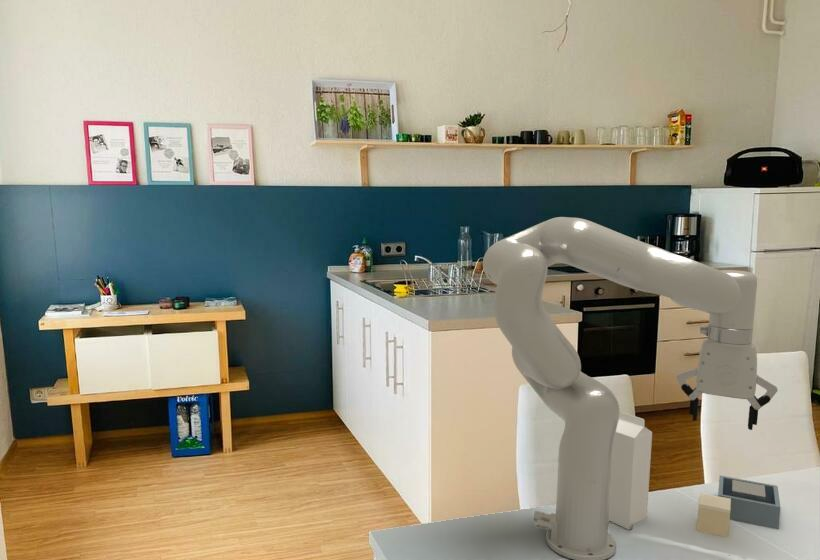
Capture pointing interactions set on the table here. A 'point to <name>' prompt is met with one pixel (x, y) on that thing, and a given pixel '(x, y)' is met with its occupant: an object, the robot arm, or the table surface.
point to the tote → (752, 504)
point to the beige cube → (714, 515)
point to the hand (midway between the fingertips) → (721, 423)
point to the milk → (630, 471)
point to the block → (748, 491)
